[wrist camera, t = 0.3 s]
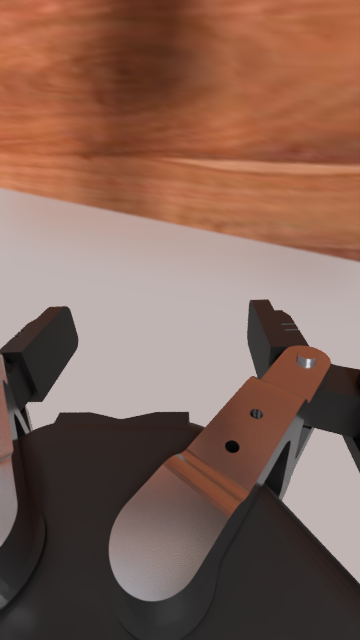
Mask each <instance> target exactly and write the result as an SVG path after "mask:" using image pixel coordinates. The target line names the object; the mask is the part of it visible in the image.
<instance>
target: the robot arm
mask: <svg viewBox="0 0 360 640" xmlns="http://www.w3.org/2000/svg"><path fill="white" fill-rule="evenodd" d="M247 339H248V346H249V349H250V353H251V356H252V360H253V363H254V367H255V370H256V374H257V377H258V378H257V377H254V376H252V377H250V378H249V379H248V380H247V381H246V382H245V383H244V385H243V386H242V387H241V388H240V389H239V390H238V391H237V392H236V393H235V395H234V396H233V397H232V398H231V399H230V400H229V401H228V402H227V404H226V405H225V406H224V407H223V408H222V409H221V410H220V411H219V413H218V414H217V415H216V416H215V417H214V418H213V419H212V421H211V422H210V423H209V424H208V425H207V426H206V427H203V426H200V425H197V424H194V423H190V422H189V412H155V413H150V414H145V415H140V416H136V417H131V418H126V419H116V418H113V417H108V416H104V415H100V414H95V413H89V412H88V413H87V412H86V413H60V414H59V415H58V417H57V419H56V421H55V423H53V424H49V425H46V426H43V427H41V428H38V429H35V430H33V429H32V424H31V420H30V417H29V412H28V410H27V408H26V406H25V405H26V404H27V403H28V402H42V401H43V400H44V398H45V397H46V395H47V394H48V392H49V391H50V389H51V388H52V386H53V384H54V383H55V382H56V380H57V379H58V377H59V375H60V374H61V372H62V371H63V369H64V368H65V366H66V365H67V363H68V362H69V360H70V358H71V357H72V356H73V354H74V353H75V351H76V349H77V347H78V336H77V332H76V328H75V325H74V321H73V318H72V314H71V311H70V309H69V308H68V307H65V306H62V307H49V308H47V309H46V310H45V311H44V312H43V313H42V314H41V315H40V316H39V317H38V318H37V319H35V320H34V321H32V322H30V323H28V324H27V325H26V326H25V327H24V328H23V329H22V330H21V332H18V333H17V335H15V337H13V338H12V339H11V340H10V341H9V342H8V343H7V344H6V345H4V346H3V347H2V348H1V349H0V640H360V584H359V583H358V581H357V580H356V579H355V578H354V577H353V576H352V575H351V574H350V573H349V572H348V571H347V570H346V569H345V568H344V567H343V566H342V565H341V563H340V562H339V561H338V560H337V559H336V558H335V557H334V556H333V555H332V554H331V553H330V552H329V551H328V550H327V549H326V547H325V546H324V545H323V544H322V543H321V542H320V541H319V540H318V539H317V538H316V537H315V536H314V535H313V534H312V533H311V532H310V531H309V529H308V528H307V527H306V526H305V525H304V524H303V523H302V522H301V521H300V520H299V519H298V518H297V517H296V516H295V515H294V513H293V512H292V511H291V510H290V509H289V508H288V507H287V506H286V505H285V504H284V503H283V502H282V499H283V497H284V495H285V492H286V490H287V488H288V485H289V482H290V479H291V476H292V474H293V471H294V469H295V466H296V464H297V462H298V460H299V458H300V456H301V454H302V452H303V450H304V448H305V446H306V444H307V442H308V440H309V438H310V436H311V434H312V432H313V430H314V428H317V429H321V430H325V431H329V432H333V433H337V434H340V435H342V436H343V438H344V440H345V442H346V444H347V447H348V449H349V451H350V453H351V455H352V457H353V459H354V461H355V464H356V466H357V468H358V470H359V472H360V370H359V369H353V368H348V367H342V366H337V365H333V364H331V361H330V359H329V357H328V356H327V355H326V354H325V353H324V352H322V351H320V350H318V349H316V348H313V347H309V345H308V344H307V342H306V340H305V339H304V337H303V335H302V334H301V333H300V331H299V330H298V327H297V326H296V324H295V323H294V321H293V320H292V318H291V316H289V315H288V314H286V313H285V312H283V311H282V310H275V311H274V309H273V307H272V306H271V303H270V301H269V300H250V303H249V315H248V331H247Z"/></svg>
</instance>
